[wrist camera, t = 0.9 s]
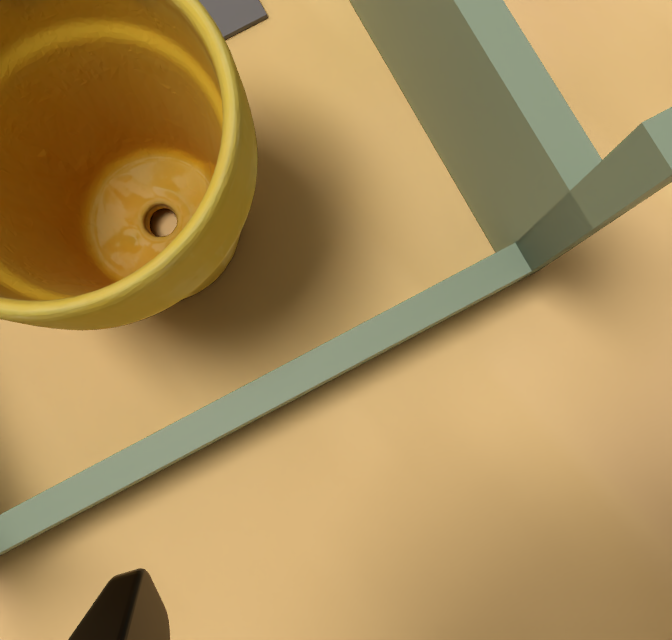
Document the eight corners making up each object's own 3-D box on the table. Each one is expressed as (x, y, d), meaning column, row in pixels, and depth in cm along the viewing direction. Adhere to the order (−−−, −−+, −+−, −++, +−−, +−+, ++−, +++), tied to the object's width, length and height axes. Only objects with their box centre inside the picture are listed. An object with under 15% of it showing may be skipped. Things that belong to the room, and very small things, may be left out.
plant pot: (328, 164, 24) (307, 14, 15) (223, 388, 23) (125, 389, 14) (114, 73, 25) (-41, -125, 15) (3, 286, 24) (-235, 218, 15)
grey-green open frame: (539, 269, 23) (726, 144, 11) (-22, 566, 23) (-437, 760, 11) (365, -26, 25) (370, -398, 13) (-157, 242, 25) (-636, 105, 13)
